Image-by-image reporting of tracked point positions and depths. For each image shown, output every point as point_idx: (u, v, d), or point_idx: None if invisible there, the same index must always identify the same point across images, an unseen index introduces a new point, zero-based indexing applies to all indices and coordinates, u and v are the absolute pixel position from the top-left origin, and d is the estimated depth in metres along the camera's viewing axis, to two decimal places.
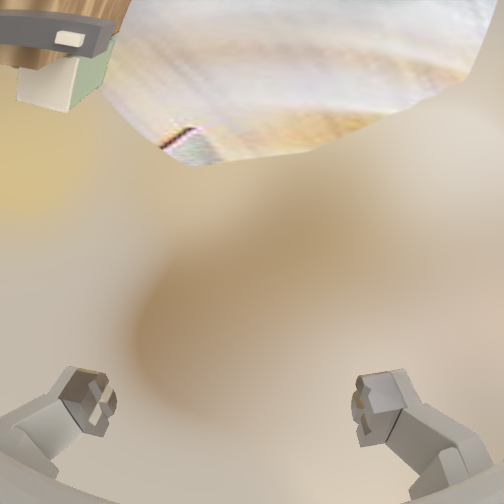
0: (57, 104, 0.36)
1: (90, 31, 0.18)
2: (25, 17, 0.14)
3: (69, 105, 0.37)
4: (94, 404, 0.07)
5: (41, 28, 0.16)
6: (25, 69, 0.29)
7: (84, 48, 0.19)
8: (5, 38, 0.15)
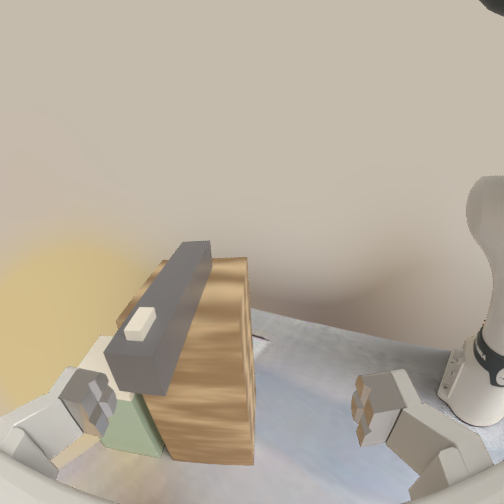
0: None
1: (146, 345, 0.17)
2: (186, 283, 0.25)
3: None
4: (94, 404, 0.07)
5: (165, 298, 0.23)
6: None
7: (121, 343, 0.17)
8: (166, 272, 0.28)
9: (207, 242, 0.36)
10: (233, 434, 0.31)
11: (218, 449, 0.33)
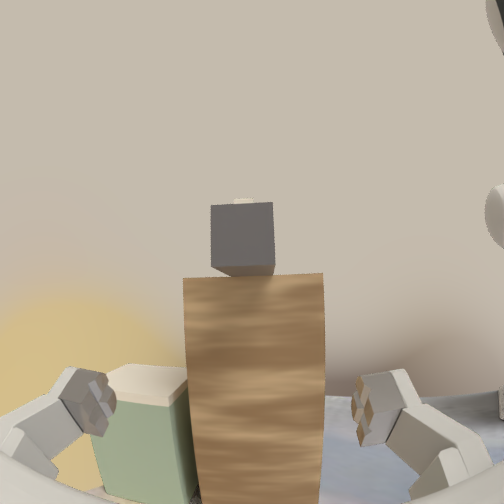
0: None
1: None
2: None
3: None
4: (94, 404, 0.07)
5: None
6: (168, 369, 0.34)
7: None
8: None
9: None
10: (301, 456, 0.22)
11: (275, 487, 0.22)
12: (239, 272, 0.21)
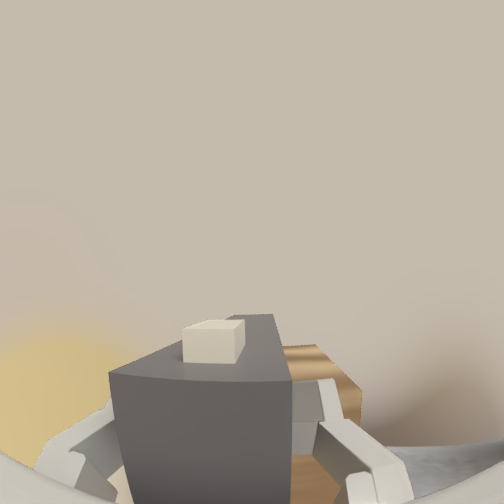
0: None
1: (253, 368, 0.06)
2: (274, 326, 0.15)
3: None
4: None
5: (248, 333, 0.12)
6: None
7: (168, 364, 0.06)
8: None
9: (270, 314, 0.26)
10: None
11: None
12: None
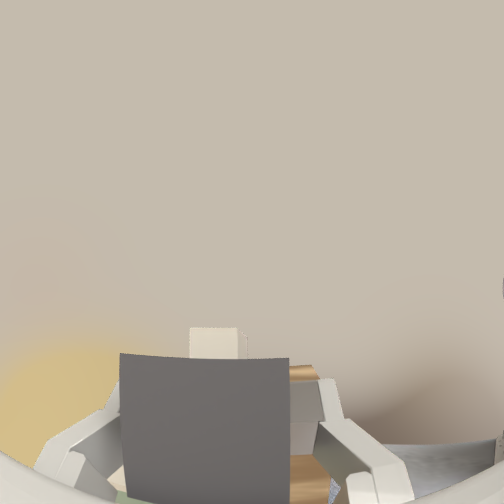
0: (115, 473, 0.23)
1: None
2: None
3: None
4: None
5: None
6: None
7: None
8: None
9: None
10: None
11: None
12: None
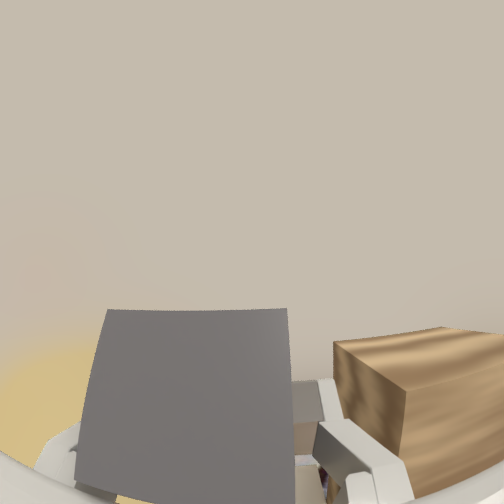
0: None
1: None
2: None
3: None
4: None
5: None
6: None
7: None
8: None
9: None
10: None
11: None
12: None
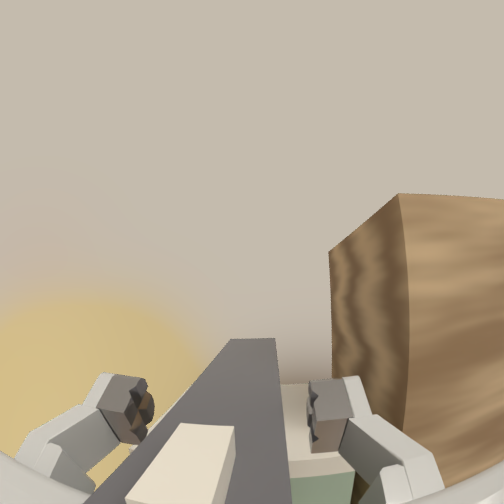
0: None
1: None
2: (277, 384, 0.11)
3: None
4: (135, 412, 0.07)
5: (243, 411, 0.08)
6: None
7: None
8: (221, 368, 0.14)
9: (272, 339, 0.22)
10: None
11: None
12: None
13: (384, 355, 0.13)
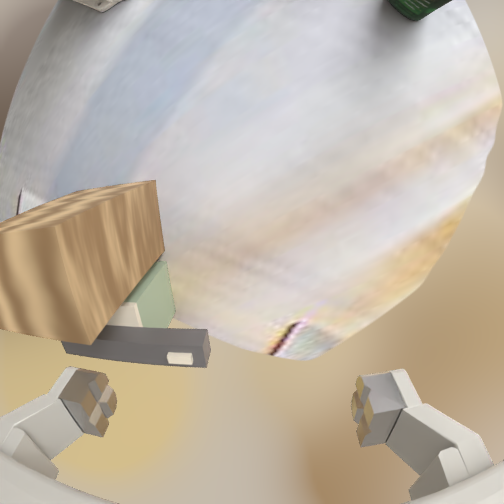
0: None
1: (195, 350, 0.33)
2: (126, 342, 0.34)
3: None
4: (94, 404, 0.07)
5: (148, 351, 0.34)
6: None
7: (196, 362, 0.34)
8: (115, 356, 0.35)
9: None
10: (135, 203, 0.37)
11: (148, 213, 0.42)
12: None
13: None
